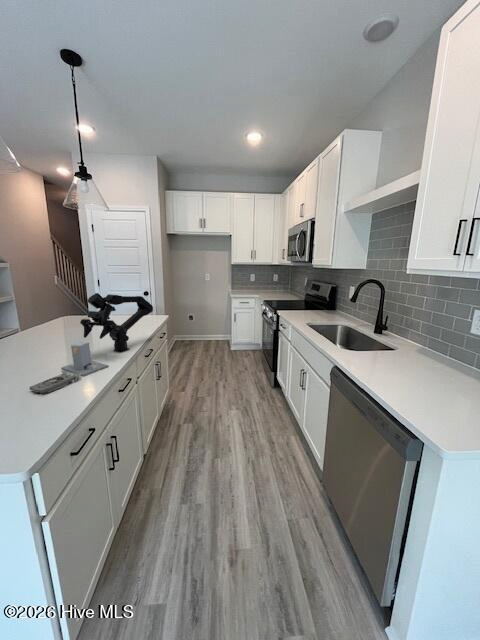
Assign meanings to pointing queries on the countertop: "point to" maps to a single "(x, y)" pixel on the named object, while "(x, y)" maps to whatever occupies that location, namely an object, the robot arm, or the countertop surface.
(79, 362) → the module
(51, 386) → the graphics card
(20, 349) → the countertop surface
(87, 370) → the grey mounting plate
